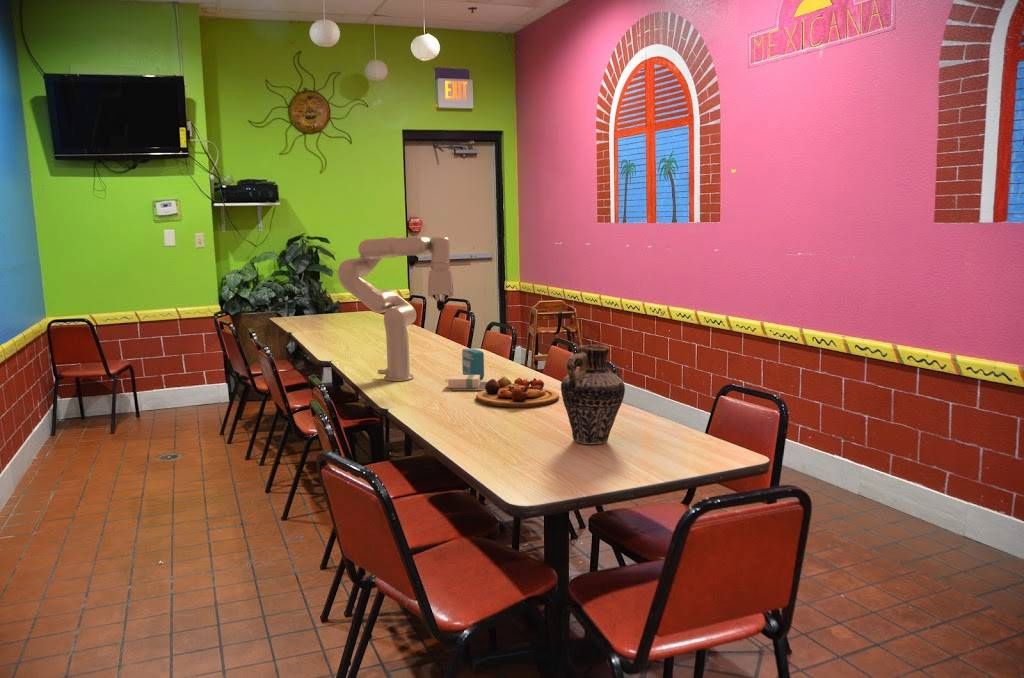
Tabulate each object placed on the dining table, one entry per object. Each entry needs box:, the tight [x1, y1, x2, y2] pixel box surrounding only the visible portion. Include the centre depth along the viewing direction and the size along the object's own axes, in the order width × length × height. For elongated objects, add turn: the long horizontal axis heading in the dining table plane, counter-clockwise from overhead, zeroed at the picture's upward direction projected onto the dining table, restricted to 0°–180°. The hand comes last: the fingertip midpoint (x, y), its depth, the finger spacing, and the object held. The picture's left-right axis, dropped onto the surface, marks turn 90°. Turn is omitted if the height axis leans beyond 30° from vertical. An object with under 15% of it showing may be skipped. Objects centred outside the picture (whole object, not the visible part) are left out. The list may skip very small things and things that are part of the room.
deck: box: [447, 374, 481, 389], centre depth 332 cm, size 4×9×12 cm
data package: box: [461, 347, 485, 380], centre depth 352 cm, size 12×4×12 cm, turn 30°
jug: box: [560, 344, 626, 446], centre depth 248 cm, size 21×19×30 cm
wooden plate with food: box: [475, 376, 560, 409], centre depth 310 cm, size 32×32×8 cm
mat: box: [451, 381, 488, 392], centre depth 332 cm, size 19×16×1 cm
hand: (440, 310), depth 340 cm, fingers closed
